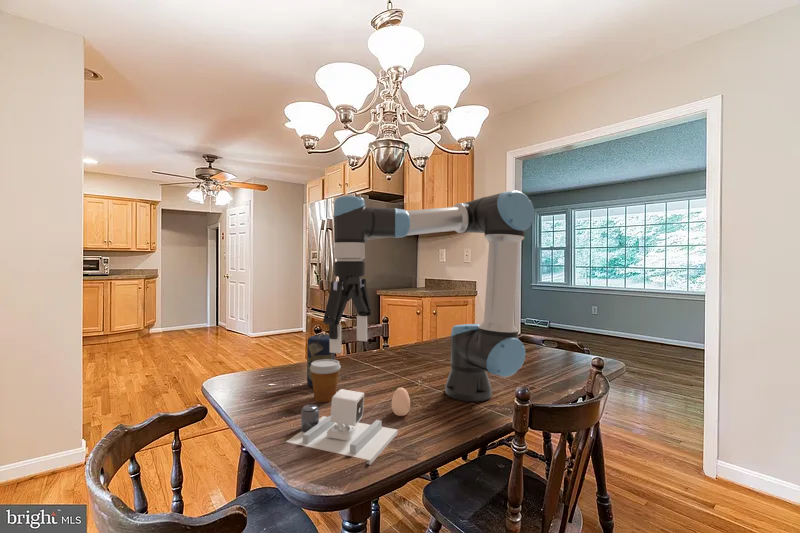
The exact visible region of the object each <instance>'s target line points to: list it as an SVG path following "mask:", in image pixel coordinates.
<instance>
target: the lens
mask: <svg viewBox="0 0 800 533" xmlns="http://www.w3.org/2000/svg"><path fill="white" fill-rule="evenodd" d="M300 411H301V412H300V413H301V414H300V415H301V416H300V417H301V418H300V422H301V423H300V432H301V431H302V432H305V433H306V432H307V431H308V430H310V429H311V428H313V427H314V426H315V425H317V424H318V423H319V419H320V407H318V405H317V404H313V403H309V404H306V405H303V407H302V408H301V409H300Z"/></svg>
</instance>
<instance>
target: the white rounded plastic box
mask: <svg viewBox="0 0 800 533" xmlns="http://www.w3.org/2000/svg"><path fill="white" fill-rule="evenodd" d="M364 404H365V392H362V391H354V390H348V389H344V388H341V389H339V390H337V391H336V394H335V395H334V396H333V397H332V401H331V407H330V415H331V418H330V422H335V423H334V424H333V426H332V428H330V429H329V430H328V431H327V437H330V438H335V439H340V440H345V441H348V440H349V439H350V438H351V436H352V435H353V434H354V432H355V429H356V425H357V423H360V421H361V420H362V418H363V415H364Z"/></svg>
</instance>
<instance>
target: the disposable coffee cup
mask: <svg viewBox="0 0 800 533" xmlns="http://www.w3.org/2000/svg"><path fill="white" fill-rule="evenodd" d="M341 368H342V366H341V364H340V361H339V360H336V359H335V360H331V359H324V360H317V361H314V362H312V363H311V366H310V371H311V374H312V382H313V387H312V390H313V398H314V401H315V402H319V403H327V402H332V397H333V396H334V395H335V394H336V393H337V392H338V382H339V374H340V369H341Z"/></svg>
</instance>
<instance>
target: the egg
mask: <svg viewBox="0 0 800 533" xmlns="http://www.w3.org/2000/svg"><path fill="white" fill-rule="evenodd" d="M410 408H411V398H410V396H409V393H408V390H406V388H404V387H398V388H397V389H395V391H394V392H393V395H392V397H391V409H392V412H393V414H394V415H396V416H398V417H399V416H400V417H402V416H403V417H404V416H406V415H407V414H408V413H409V411H410Z"/></svg>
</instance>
